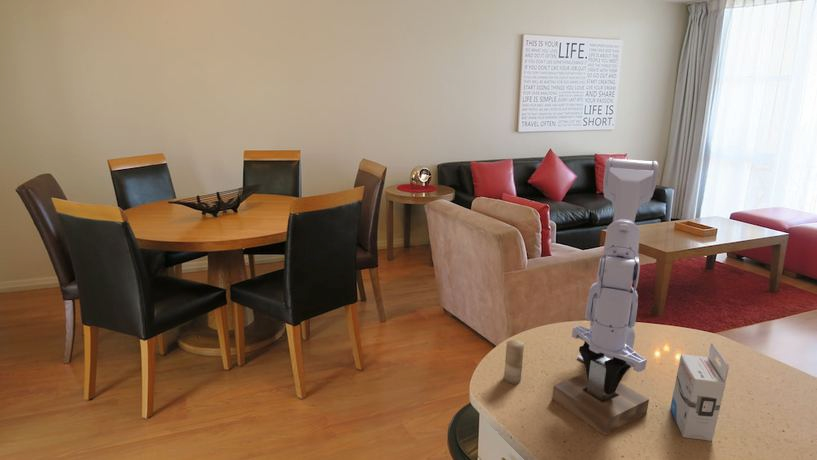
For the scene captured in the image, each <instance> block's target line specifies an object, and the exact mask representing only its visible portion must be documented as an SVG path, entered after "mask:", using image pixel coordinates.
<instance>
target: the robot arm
mask: <svg viewBox="0 0 817 460" xmlns="http://www.w3.org/2000/svg"><path fill="white" fill-rule="evenodd" d="M605 161H606V162H605V167H604V174H603V182H602V183H603V184H602V185H603V188H602V189H603V191H602V192H603V197H604V198H605V199H606V200H607V201H610V202H611V203H612V208H613V216H612V217H613V218H612V222H611V223H610V224H609V225H608V226H607V227H606V230H605V232H606V233H605V240H604V246H603V254H602V256H601V257H600V258H599V261H598V268H597V269H598V270H597V276H596V282H594V283H592V284H591V286H590V287H589V292H588V296H587V301H586V308H585V316H584V318H585V319H586V321H588V322H590V323H589V326H590V328H587V327H584V326H582V325H577V326H574V327H572V333H571V337H572V338H574V339H580V340H582V341H584V342H583V345H580V346H579V348H578V352H579V355H577V358H578V359H579V360H581V361H582V362H584V366H585V371H586V372H587V379H588V378H589V370H590V363H591V360H592V359H594V358H597V357H599V356H602V355H604V356H606V357H608V358H609V359H610V360H608V361H605V367H606V385H605V393H606V394H608V395H609V394H611V393H614V392H615V391H616V389H617V386H618V384H619V382H620V383H621V380H622V378H623V377H624V376H625V374H626V373H627V372H628V371H629V370H630V368H633V369H632V370H633V371H635V372H637V373H639V372H642V371H645V370H646V366H647V361H648V360H647V358H644V357H643V356H642V355H640V354H638V353H637V352H636V351H635V350H634V345H635V339H636V333H635V329H634V327H635V325H636V319H637V313H638V303H639V301H638V300H639V294H638V291H637V288H638V285H639V284H638V283H639V277H640V271H641V266H640V265H641V264H640V254H639V247H640V239H641V229H640V227H639V226H638V225H637V224H636V223H635V221H636V216H637V212H638V209H639V208H640V206H641V205H643V204H646V203H650V202H651V198H653V196H654V192H655V190H656V188H657V187H656V186H657V184H658V183H657V182H658V176H659V175H658V174H659V168H660V167H659V163H658V161H657V160H653V161H651V160H640V159H625V158H613V157H609V158H607V159H606V160H605ZM632 284H633V286H632ZM586 372H585V373H586Z"/></svg>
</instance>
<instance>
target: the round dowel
mask: <svg viewBox="0 0 817 460" xmlns="http://www.w3.org/2000/svg"><path fill="white" fill-rule="evenodd" d="M524 349H525V344H524V343H523V342H522V341H520V340H516V339H512V340H507V342H506V349H505V360H504V361H505V362H504V372H503V373H504V374H503V380H504V381H505V382H506V383H507V384H512V385H516V384H519V383H521V380H522V370H523V362H524V361H523V360H524Z"/></svg>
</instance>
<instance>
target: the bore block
mask: <svg viewBox="0 0 817 460" xmlns="http://www.w3.org/2000/svg"><path fill="white" fill-rule="evenodd" d="M587 385H588V379H587V372H583V373H582V374H578V375H575V376H574V377H571V378H569V379H566V380H564V381H561V382H559V383H556V384H554V385H553V388H552V389H553V390H552V396H551V397H552V400H553V401H554V402H556V403H557V404H559V405H561V406H562V407H563V408H565V409H566V410H567V411H569V412H570V413H572V415H574V416H576V417H577V418H579V419H580V420H582V421H583V422H585V423H586V424H588V425H589V426H590V427H592V428H593V429H595V430H596V431H597V432H599V433H600V434H602V435H603V436H605V435H607V434H609V433H611V432H613V431H615V430H616V429H619V428H620V427H622V426H624V425H626V424H629V423H630V422H632V421H635V420H636V419H638V418H640V417H642V416H645V414H647V413H648V407H649V403H650V399H649V398H648V397H646V396H644V395H643V394H641V393H639V392H637V391H635V390H634V389H632V388H630V387H629V386H627V385H626V384H623V383H622V382H621V381H620V382H619V384H618V386H617V389H616V391H615V392H614V397H613V398H612V399H610V400H608V401H606V402H604V403H602V402H600V401H599V400H597V399H596V398H594V397H593V396H591V395H589V394H588V393H587Z"/></svg>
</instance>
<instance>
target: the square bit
mask: <svg viewBox="0 0 817 460" xmlns="http://www.w3.org/2000/svg"><path fill="white" fill-rule="evenodd" d="M608 360H610V359H609V358H608V357H606V356H604V355H602V356H599V357H597V358H594V359H592V360H591V363H590V370H589V378H588V385H587V393H588V394H589V395H591V396H593V397H594V398H596V399H597V400H599V401H600V402H602V403H604V402H606V401H608V400H610V399H612V398H613V397H614V393H611V394H609V395H608V394H606V393H605V385H606V367H605V361H608Z"/></svg>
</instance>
